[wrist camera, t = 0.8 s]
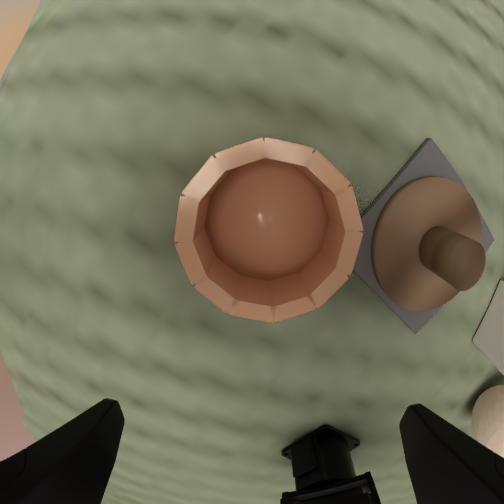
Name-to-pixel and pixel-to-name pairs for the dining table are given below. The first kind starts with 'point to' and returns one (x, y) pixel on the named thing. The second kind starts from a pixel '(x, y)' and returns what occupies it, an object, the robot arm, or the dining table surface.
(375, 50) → the dining table surface
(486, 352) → the white boxy piece
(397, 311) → the mat
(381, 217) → the lid
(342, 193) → the bowl
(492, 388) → the egg
